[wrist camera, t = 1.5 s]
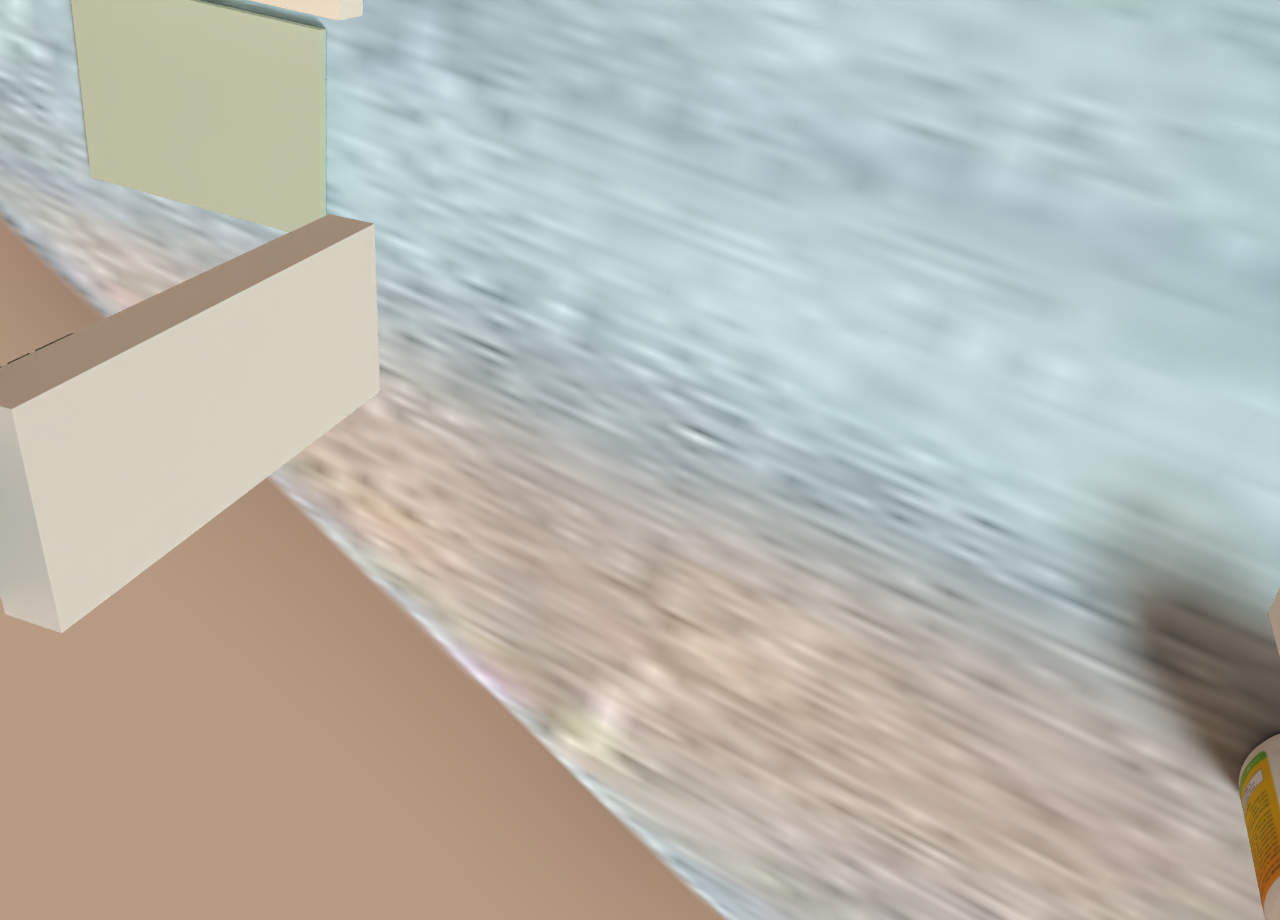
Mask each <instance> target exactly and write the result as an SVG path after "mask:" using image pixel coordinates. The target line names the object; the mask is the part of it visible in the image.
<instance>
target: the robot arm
mask: <svg viewBox="0 0 1280 920" xmlns="http://www.w3.org/2000/svg"><path fill="white" fill-rule="evenodd" d="M378 392H380V381H379V351H378V321H377V291H376V261H375V231H374V224H373V223H368V222H363V221H359V220H354V219H349V218H344V217H339V216H335V215H330V214H328V215H326V216H324V217H322V218H320V219H318V220H315V221H313V222H311V223H309V224H307V225H305V226H303V227H300V228H298V229H296V230H294V231H292V232H290V233H288V234H285V235H283V236H281V237H279V238H277V239H275V240H273V241H270V242H268V243H266V244H264V245H262V246H260V247H258V248H255V249H253V250H251V251H249V252H247V253H245V254H243V255H240V256H238V257H236V258H234V259H232V260H230V261H228V262H225V263H223V264H221V265H219V266H217V267H215V268H213V269H211V270H208V271H206V272H204V273H202V274H200V275H198V276H196V277H193V278H191V279H189V280H187V281H185V282H183V283H181V284H178V285H176V286H174V287H172V288H170V289H168V290H166V291H163V292H161V293H159V294H157V295H155V296H153V297H151V298H148V299H146V300H144V301H142V302H140V303H138V304H136V305H133V306H131V307H129V308H127V309H125V310H123V311H121V312H118V313H116V314H114V315H112V316H110V317H108V318H106V319H104V320H101V321H99V322H97V323H95V324H93V325H91V326H89V327H87V328H84V329H82V330H80V331H78V332H76V333H72V334H69V335H67V336H65V337H63V338H60V339H58V340H56V341H54V342H52V343H50V344H48V345H45V346H43V347H41V348H39V349H37V350H35V352H33V353H31V354H30V353H28V354H26V355H24V356H22V357H20V358H17V359H15V360H13V361H11V362H9V363H8V364H7V365H5V366H3V367H0V595H1V599H2V603H3V607H4V611H5V614H7V615H9V616H12V617H16V618H18V619H21V620H24V621H27V622H30V623H33V624H36V625H39V626H42V627H45V628H48V629H51V630H54V631H57V632H60V633H62V632H64V631H65V630H66V629H68V628H69V627H70V626H72V625H73V624H74V623H75V622H77V621H78V620H80V619H81V618H82V617H84V616H85V615H86V614H87V613H89V612H90V611H91V610H93V609H94V608H95V607H97V606H98V605H99V604H100V603H102V602H103V601H105V600H106V599H107V598H108V597H110V596H111V595H112V594H114V593H115V592H116V591H118V590H119V589H120V588H122V587H123V586H124V585H126V584H127V583H128V582H129V581H131V580H132V579H133V578H135V577H136V576H137V575H139V574H140V573H141V572H143V571H144V570H145V569H147V568H148V567H149V566H151V565H152V564H153V563H155V562H156V561H157V560H159V559H160V558H161V557H163V556H164V555H165V554H166V553H168V552H169V551H170V550H172V549H173V548H174V547H176V546H177V545H178V544H179V543H181V542H182V541H183V540H185V539H186V538H187V537H189V536H190V535H191V534H193V533H194V532H195V531H197V530H198V529H199V528H200V527H202V526H203V525H205V524H206V523H207V522H209V521H210V520H211V519H213V518H214V517H215V516H216V515H218V514H219V513H220V512H222V511H223V510H224V509H226V508H227V507H228V506H229V505H231V504H232V503H233V502H235V501H236V500H237V499H239V498H240V497H241V496H243V495H244V494H245V493H247V492H248V491H249V490H251V489H252V488H253V487H255V486H256V485H257V484H258V483H260V482H261V481H262V480H264V479H265V478H266V477H268V476H269V475H270V474H272V473H273V472H274V471H276V470H277V469H278V468H280V467H281V466H282V465H284V464H285V463H286V462H288V461H289V460H290V459H291V458H293V457H294V456H295V455H297V454H298V453H299V452H301V451H302V450H303V449H305V448H306V447H307V446H309V445H310V444H311V443H313V442H314V441H315V440H316V439H318V438H319V437H320V436H322V435H323V434H324V433H326V432H327V431H328V430H330V429H331V428H332V427H334V426H335V425H336V424H338V423H339V422H340V421H341V420H343V419H344V418H345V417H347V416H348V415H349V414H351V413H352V412H353V411H355V410H356V409H357V408H359V407H360V406H361V405H363V404H364V403H365V402H366V401H368V400H369V399H370V398H372V397H373V396H374V395H376V394H377V393H378ZM1268 616H1269V619H1270V623H1271V627H1272V630H1273V634H1274V638H1275V642H1276V645H1277V649H1278V653H1279V656H1280V589H1279V591H1278V593H1277V596H1276V598H1275V600H1274V602H1273V604H1272V606H1271V608H1270V610H1269V612H1268Z"/></svg>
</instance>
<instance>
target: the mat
mask: <svg viewBox="0 0 1280 920" xmlns="http://www.w3.org/2000/svg"><path fill="white" fill-rule="evenodd" d="M71 5H72V14H73V23H74V31H75V40H76V49H77V58H78V67H79V76H80V85H81V94H82V103H83V112H84V121H85V129H86V138H87V147H88V156H89V165H90V174H91V177H92V178H95V179H99V180H103V181H106V182H110V183H113V184H117V185H121V186H124V187H128V188H132V189H135V190H139V191H142V192H146V193H150V194H153V195H157V196H161V197H164V198H168V199H171V200H175V201H179V202H182V203H186V204H189V205H193V206H197V207H200V208H204V209H208V210H211V211H215V212H218V213H222V214H226V215H229V216H233V217H237V218H240V219H244V220H247V221H251V222H255V223H258V224H262V225H266V226H269V227H273V228H276V229H280V230H284V231H287V232H292V231H294V230H296V229H298V228H300V227H303V226H305V225H307V224H309V223H311V222H313V221H315V220H318V219H320V218H322V217H324V216H326V29H324V28H319V27H315V26H311V25H306V24H302V23H298V22H293V21H289V20H285V19H280V18H276V17H271V16H267V15H263V14H258V13H254V12H250V11H245V10H241V9H237V8H232V7H228V6H224V5H219V4H215V3H211V2H206V1H202V0H71Z"/></svg>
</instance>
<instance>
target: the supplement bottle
mask: <svg viewBox="0 0 1280 920" xmlns="http://www.w3.org/2000/svg"><path fill="white" fill-rule="evenodd" d="M1239 791H1240V799H1241V803H1242V808H1243V813H1244V817H1245V822H1246V827H1247V832H1248V837H1249V842H1250V847H1251V852H1252V857H1253V862H1254V867H1255V872H1256V877H1257V882H1258V887H1259V892H1260V897H1261V902H1262V907H1263V912H1264V916H1265V920H1280V734H1277V735H1275V736H1273V737H1271V738H1269V739H1267V740H1266V741H1264V742H1262V743H1261V744H1260V745H1258V746H1257V747H1256V748H1255V749H1254V750H1253V751H1252V752H1251V753H1250V754H1249V756H1248V757H1247V758H1246V760H1245V762H1244V763H1243V766H1242V768H1241V771H1240V775H1239Z"/></svg>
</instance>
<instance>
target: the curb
mask: <svg viewBox="0 0 1280 920" xmlns="http://www.w3.org/2000/svg"><path fill="white" fill-rule="evenodd" d="M251 1H255V2H259V3H264V4H268V5H273V6H277V7H281V8H286V9H290V10H295V11H299V12H303V13H308V14H312V15H317V16H321V17H325V18H330V19H334V20H343V19H348V18H353V17H358V16H363V0H251Z"/></svg>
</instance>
